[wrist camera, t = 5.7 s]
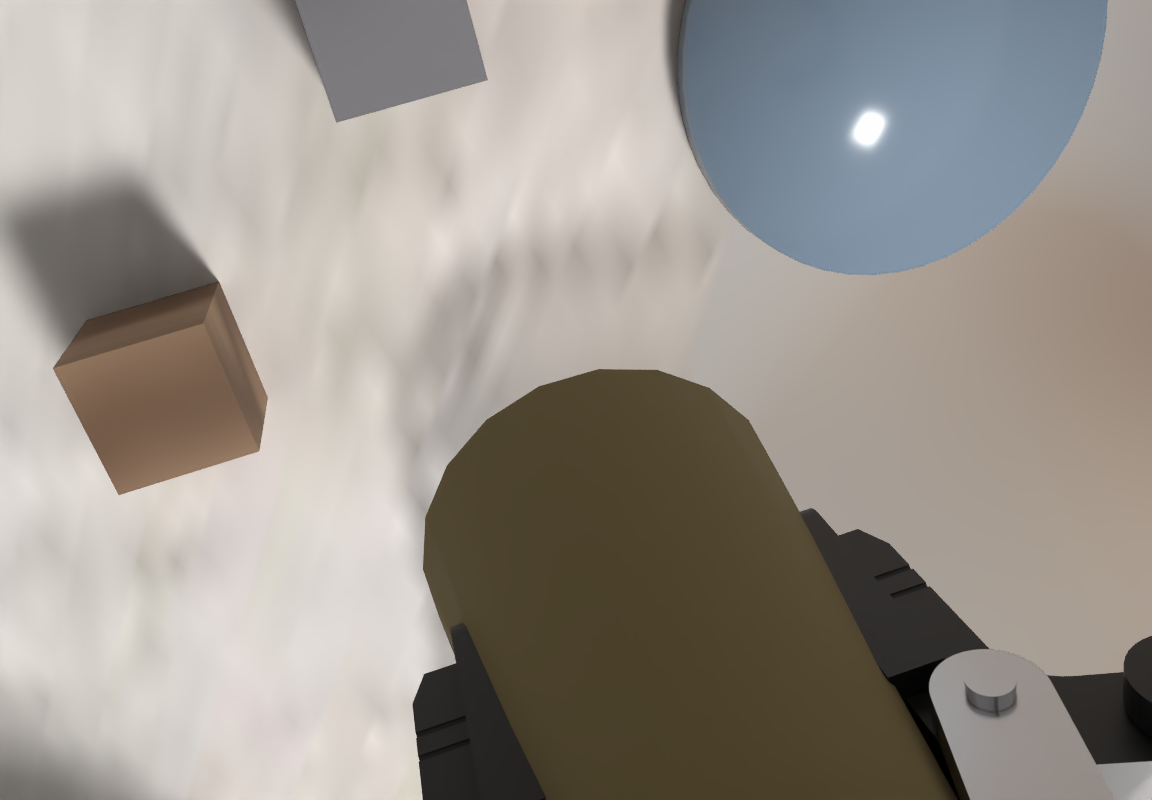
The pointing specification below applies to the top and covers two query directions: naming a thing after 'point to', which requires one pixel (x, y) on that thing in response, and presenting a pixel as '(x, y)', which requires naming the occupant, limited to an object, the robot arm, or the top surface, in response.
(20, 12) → the top surface
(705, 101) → the slate plate
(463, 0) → the graphite block
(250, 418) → the walnut block
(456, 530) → the cork
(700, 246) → the top surface
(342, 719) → the top surface
